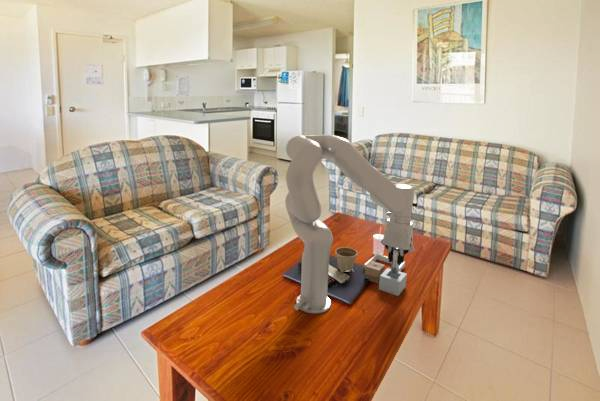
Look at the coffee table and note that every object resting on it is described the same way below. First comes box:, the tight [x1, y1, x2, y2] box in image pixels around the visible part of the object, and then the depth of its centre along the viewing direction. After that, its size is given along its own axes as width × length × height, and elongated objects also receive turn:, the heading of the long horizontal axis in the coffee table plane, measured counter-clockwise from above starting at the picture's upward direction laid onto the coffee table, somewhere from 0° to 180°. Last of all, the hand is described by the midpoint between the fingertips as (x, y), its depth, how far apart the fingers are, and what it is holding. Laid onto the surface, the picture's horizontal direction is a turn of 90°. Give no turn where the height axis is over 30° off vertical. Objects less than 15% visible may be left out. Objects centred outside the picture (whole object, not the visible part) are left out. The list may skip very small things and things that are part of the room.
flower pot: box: [335, 246, 358, 271], centre depth 156 cm, size 9×9×9 cm
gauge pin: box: [390, 247, 400, 274], centre depth 141 cm, size 3×3×10 cm
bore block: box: [378, 267, 408, 297], centre depth 144 cm, size 8×8×6 cm
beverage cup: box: [372, 226, 385, 256], centre depth 172 cm, size 6×6×14 cm
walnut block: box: [364, 261, 386, 284], centre depth 151 cm, size 6×6×6 cm
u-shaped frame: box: [363, 254, 406, 272], centre depth 160 cm, size 13×14×2 cm
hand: (395, 262), depth 141 cm, fingers closed on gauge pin, 3 cm apart
